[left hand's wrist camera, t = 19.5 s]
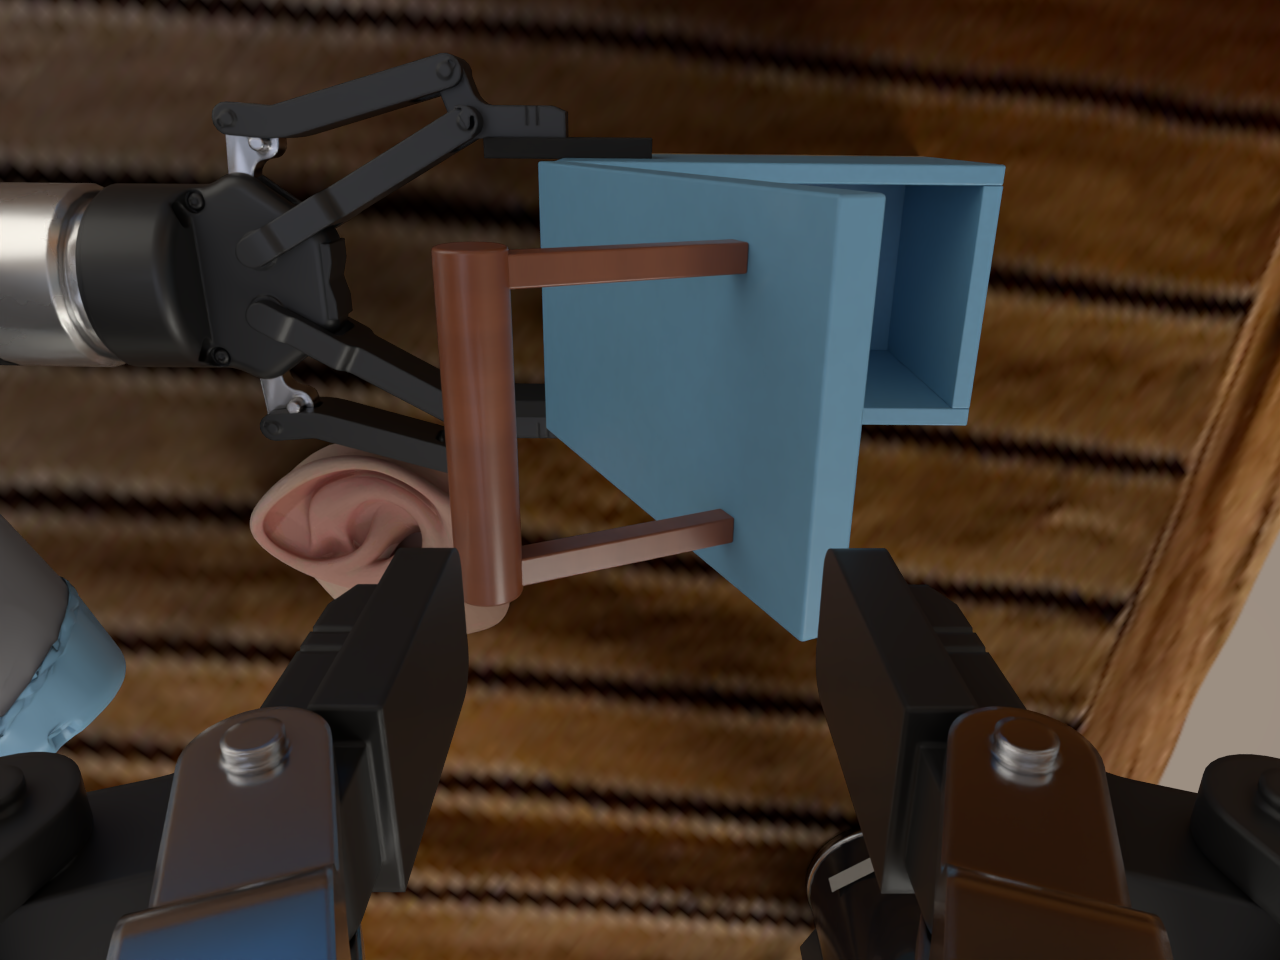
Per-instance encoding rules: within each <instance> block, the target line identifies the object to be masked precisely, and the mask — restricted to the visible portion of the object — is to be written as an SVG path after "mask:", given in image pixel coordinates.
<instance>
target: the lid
mask: <svg viewBox="0 0 1280 960" xmlns="http://www.w3.org/2000/svg"><path fill="white" fill-rule="evenodd" d="M538 170H539V203H540V236H541V248H536V249H515V250H509V249H508V247H507V246H506V245H503V244H499V243H492V242H453V243H444V244H439V245H436V246H434V247H432V250H431V255H432V269H433V282H434V295H435V309H436V322H437V335H438V348H439V362H440V375H441V388H442V402H443V415H444V428H445V442H446V455H447V468H448V482H449V495H450V508H451V522H452V535H453V548H456V549H457V550H458V552H459V556H460V561H461V569H462V581H463V593H464V602H465V603H467V604H470V605H473V606H479V607H493V606H499V605H503V604H507V603H509V602H512V601H513V600H515V599H517V598H518V597H519V596H520V595H521V593H522V591H523V586H525V585H530V584H535V583H540V582H545V581H550V580H554V579H559V578H564V577H569V576H574V575H578V574H583V573H588V572H593V571H598V570H602V569H607V568H612V567H617V566H622V565H627V564H631V563H636V562H641V561H646V560H651V559H655V558H660V557H665V556H670V555H675V554H679V553H684V552H689V551H693V552H695V553H696V554H697V555H698V556H699V557H700V558H702V559H703V560H704V561H705V562H706V563H708V564H709V565H710V566H711V567H712V568H714V569H715V570H716V571H717V572H718V573H720V574H721V575H722V576H723V577H724V578H725V579H727V580H728V581H729V582H730V583H731V584H733V585H734V586H735V587H736V588H737V589H739V590H740V591H741V592H742V593H743V594H745V595H746V596H747V597H748V598H749V599H750V600H752V601H753V602H754V603H755V604H756V605H758V606H759V607H760V608H761V609H762V610H764V611H765V612H766V613H767V614H768V615H770V616H771V617H772V618H773V619H774V620H775V621H777V622H778V623H779V624H780V625H781V626H783V627H784V628H785V629H786V630H787V631H789V632H790V633H791V634H792V635H793V636H795V637H796V638H797V639H798V640H799V641H806V640H810V639H814V638H817V635H818V624H819V612H820V600H821V588H822V576H823V566H824V559H825V555H826V552H827V550H828V549H829V548H849V540H850V531H851V521H852V512H853V503H854V493H855V484H856V474H857V465H858V456H859V446H860V437H861V427H862V418H863V408H864V399H865V390H866V380H867V371H868V361H869V352H870V343H871V333H872V324H873V314H874V305H875V296H876V286H877V277H878V267H879V258H880V249H881V239H882V230H883V220H884V211H885V202H886V197H885V195H884V194H882V193H877V192H867V191H857V190H848V189H838V188H828V187H818V186H808V185H798V184H788V183H778V182H768V181H758V180H748V179H738V178H728V177H719V176H709V175H699V174H689V173H679V172H669V171H659V170H649V169H639V168H629V167H619V166H609V165H599V164H589V163H580V162H570V161H541V162H539V164H538ZM541 287H542V301H543V333H544V366H545V398H546V427H547V429H548V430H549V431H550V432H552V433H553V434H554V435H555V436H556V437H558V438H559V439H560V440H561V441H562V442H564V443H565V444H566V445H567V446H568V447H569V448H571V449H572V450H573V451H574V452H575V453H577V454H578V455H579V456H580V457H581V458H583V459H584V460H585V461H586V462H587V463H589V464H590V465H591V466H592V467H593V468H594V469H596V470H597V471H598V472H599V473H600V474H602V475H603V476H604V477H605V478H606V479H608V480H609V481H610V482H611V483H612V484H614V485H615V486H616V487H617V488H618V489H619V490H621V491H622V492H623V493H624V494H625V495H627V496H628V497H629V498H630V499H631V500H633V501H634V502H635V503H636V504H637V505H639V506H640V507H641V508H642V509H643V510H644V511H646V512H647V513H648V514H649V515H650V516H652V517H653V518H654V519H655V520H656V521H651V522H646V523H641V524H636V525H630V526H625V527H620V528H614V529H609V530H604V531H598V532H593V533H588V534H583V535H577V536H572V537H567V538H561V539H556V540H551V541H545V542H540V543H535V544H530V545H524V546H522V545H521V522H520V499H519V476H518V454H517V431H516V408H515V385H514V362H513V339H512V317H511V294H510V290H511V289H526V288H541Z"/></svg>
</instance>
